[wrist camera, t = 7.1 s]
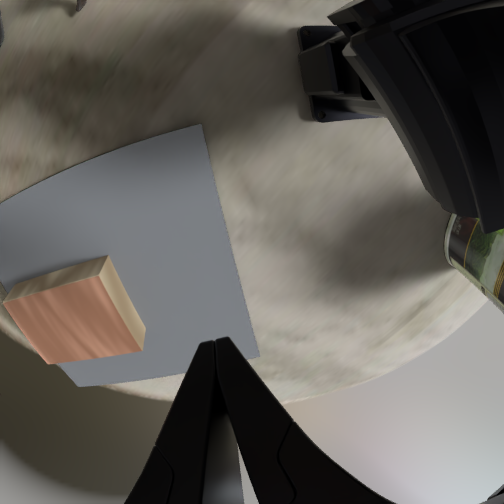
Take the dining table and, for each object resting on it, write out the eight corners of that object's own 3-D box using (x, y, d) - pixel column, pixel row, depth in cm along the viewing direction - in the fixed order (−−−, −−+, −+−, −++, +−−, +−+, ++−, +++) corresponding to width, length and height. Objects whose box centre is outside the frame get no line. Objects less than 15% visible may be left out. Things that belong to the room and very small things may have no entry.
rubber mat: (201, 123, 16) (201, 123, 15) (259, 353, 26) (260, 356, 25) (-26, 219, 14) (-29, 221, 14) (79, 383, 24) (78, 386, 24)
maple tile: (98, 275, 16) (2, 302, 15) (142, 351, 19) (47, 364, 19) (108, 254, 18) (15, 284, 17) (145, 328, 22) (55, 344, 21)
